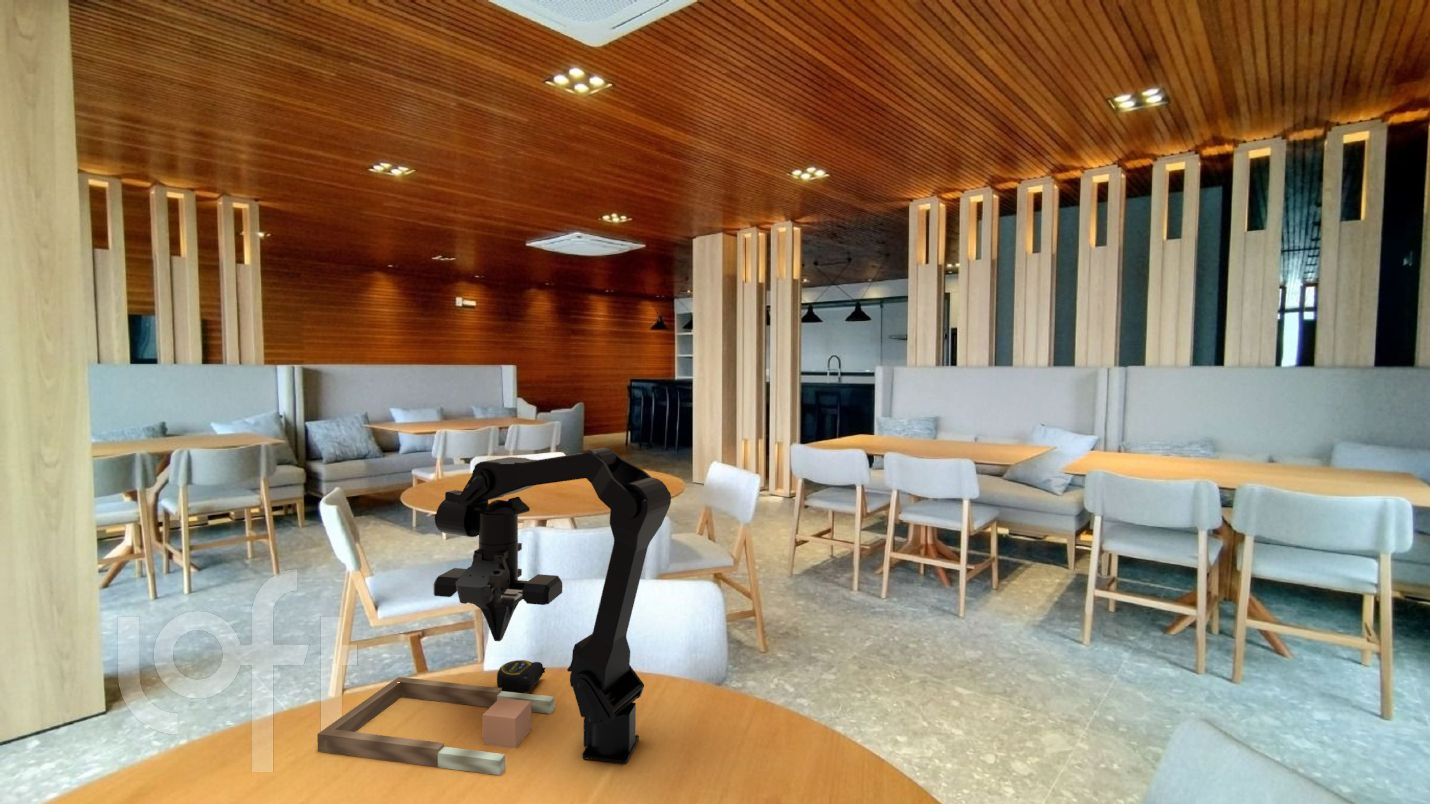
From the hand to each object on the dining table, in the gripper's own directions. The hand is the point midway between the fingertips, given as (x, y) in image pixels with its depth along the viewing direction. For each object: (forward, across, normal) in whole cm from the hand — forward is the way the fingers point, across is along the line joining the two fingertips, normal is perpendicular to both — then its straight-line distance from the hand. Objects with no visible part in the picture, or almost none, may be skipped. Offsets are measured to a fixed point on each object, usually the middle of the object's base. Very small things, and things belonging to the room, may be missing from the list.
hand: (498, 640), depth 102 cm
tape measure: (+12, -1, +9) cm, 16 cm away
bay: (+12, -6, -5) cm, 14 cm away
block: (+12, +4, -5) cm, 14 cm away
